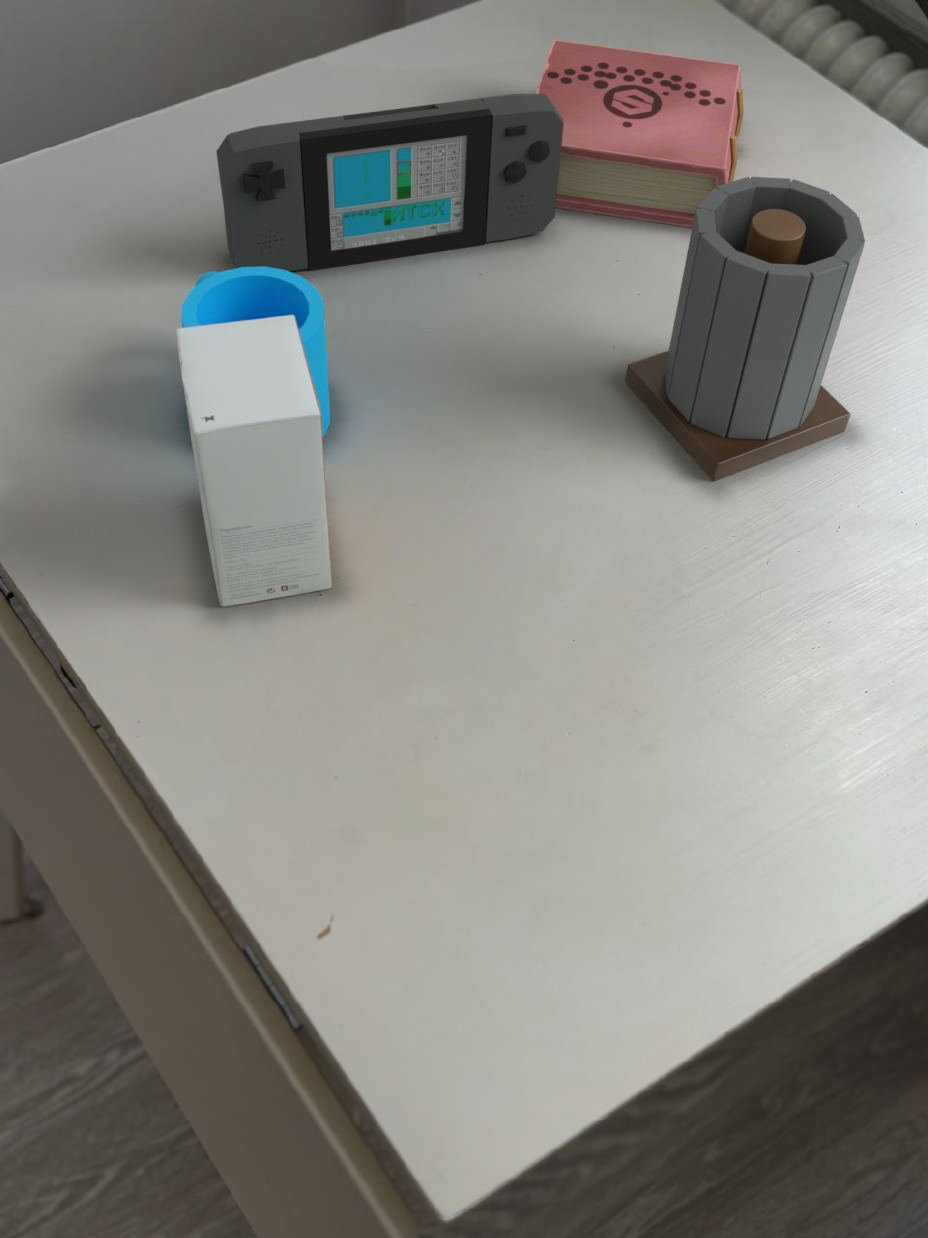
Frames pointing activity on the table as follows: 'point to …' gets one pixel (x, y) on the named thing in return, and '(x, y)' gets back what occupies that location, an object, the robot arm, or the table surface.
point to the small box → (257, 457)
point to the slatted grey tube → (759, 310)
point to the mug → (265, 311)
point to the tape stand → (721, 456)
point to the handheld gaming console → (390, 182)
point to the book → (642, 130)
